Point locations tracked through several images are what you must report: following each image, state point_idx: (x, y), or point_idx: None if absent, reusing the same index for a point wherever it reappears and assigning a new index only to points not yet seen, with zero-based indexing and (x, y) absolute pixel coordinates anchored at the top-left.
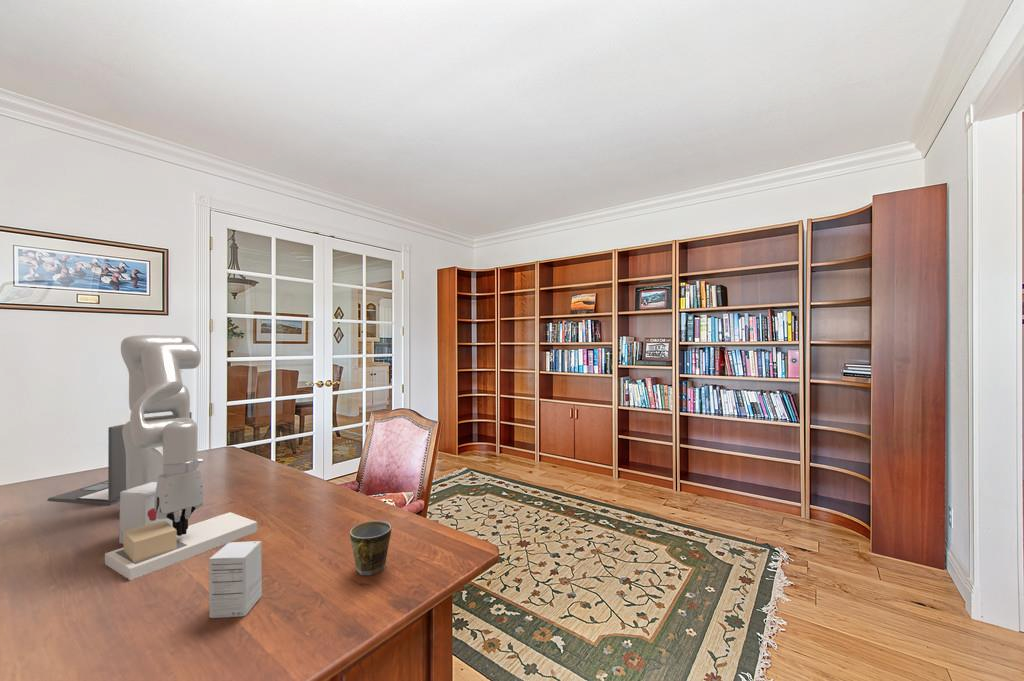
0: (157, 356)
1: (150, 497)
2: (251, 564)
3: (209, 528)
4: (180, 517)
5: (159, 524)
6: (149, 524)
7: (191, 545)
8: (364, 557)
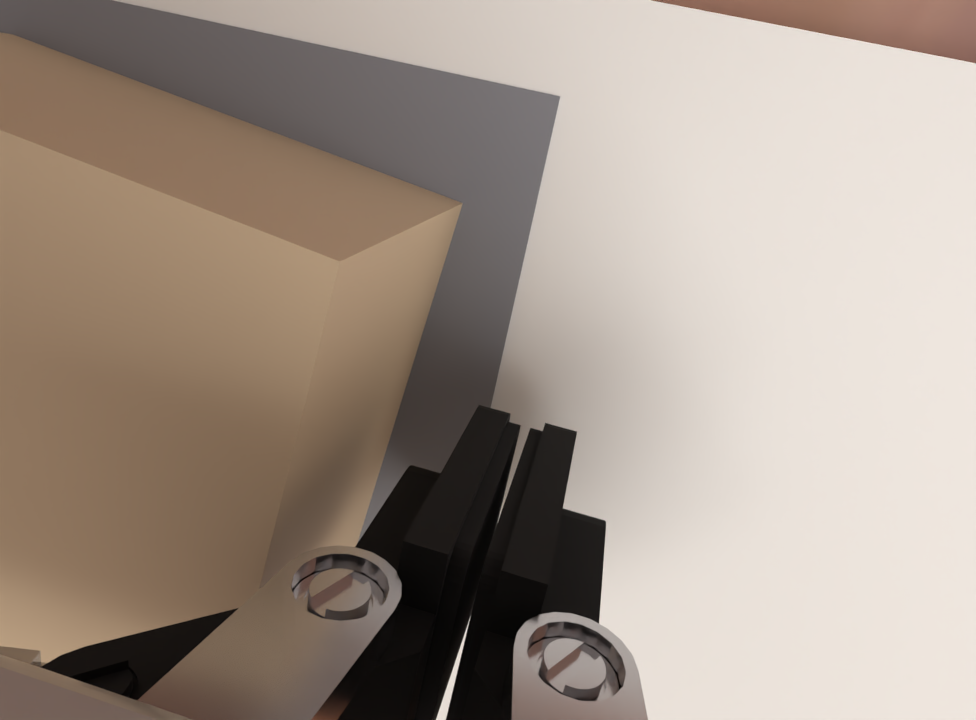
0: None
1: None
2: None
3: (943, 559)
4: (477, 666)
5: (157, 400)
6: (44, 158)
7: (442, 716)
8: None
